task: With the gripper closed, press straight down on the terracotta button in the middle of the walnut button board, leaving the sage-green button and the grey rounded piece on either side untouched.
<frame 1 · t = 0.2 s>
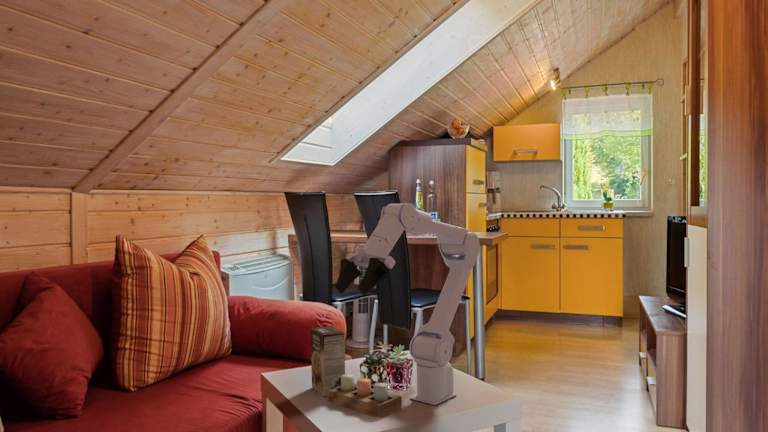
hand: (349, 291, 126), 31 cm above the table, tool tilted 45°, fingers open, 7 cm apart
coffee box: (328, 391, 155), on the table
button terracotta: (364, 388, 144), point 4 cm above the table, slide at 0.0 cm
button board: (364, 404, 144), on the table
button sage: (347, 384, 147), point 4 cm above the table, slide at 0.0 cm
grey rounded piece: (381, 393, 140), point 4 cm above the table, slide at 0.0 cm
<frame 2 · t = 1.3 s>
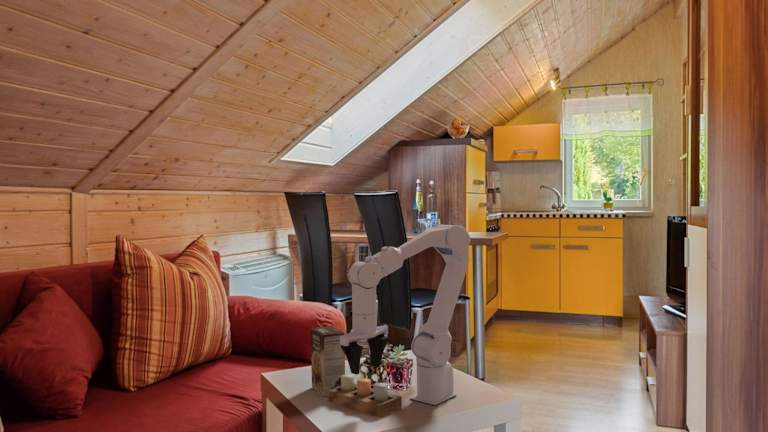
hand: (365, 370, 139), 10 cm above the table, tool pointing down, fingers open, 6 cm apart
nothing on the table moved.
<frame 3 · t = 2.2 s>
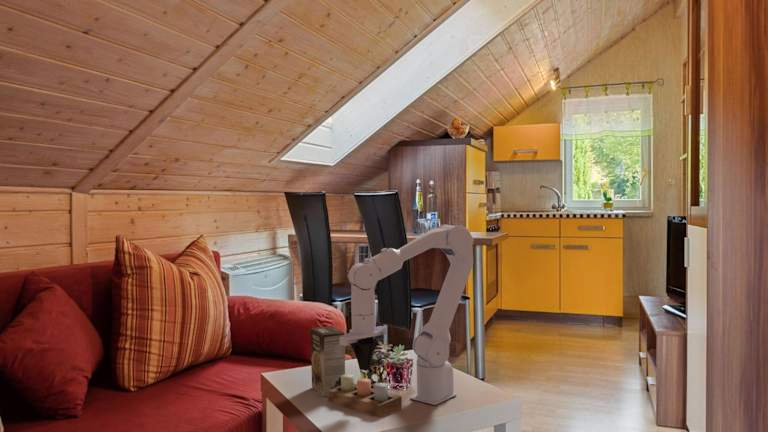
hand: (364, 369, 142), 9 cm above the table, tool pointing down, fingers closed
nothing on the table moved.
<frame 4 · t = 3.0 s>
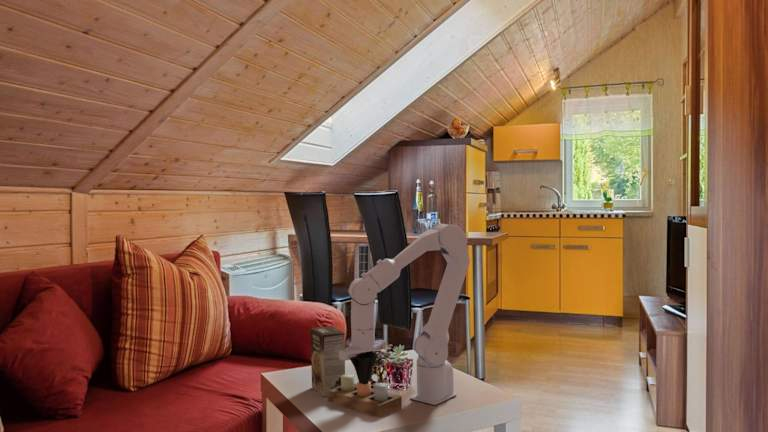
hand: (363, 383, 144), 5 cm above the table, tool pointing down, fingers closed, pressing on button terracotta
button terracotta: (364, 391, 144), point 3 cm above the table, slide at 0.6 cm, touching gripper
everything else where it was.
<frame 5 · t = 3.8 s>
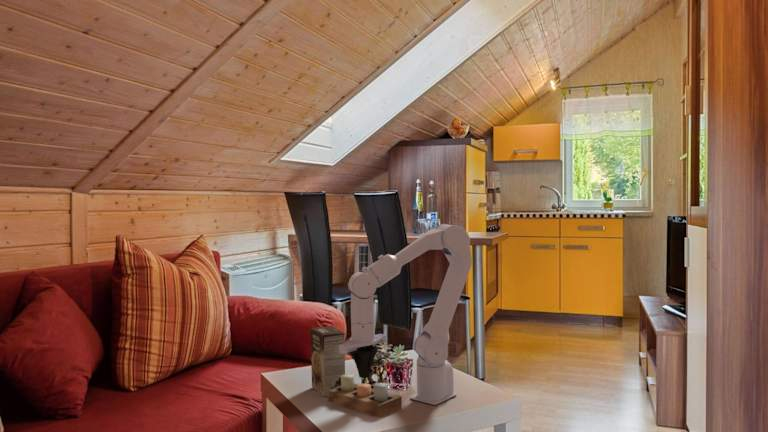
hand: (364, 377, 144), 7 cm above the table, tool pointing down, fingers closed
button terracotta: (364, 393, 144), point 3 cm above the table, slide at 1.3 cm
everything else where it was.
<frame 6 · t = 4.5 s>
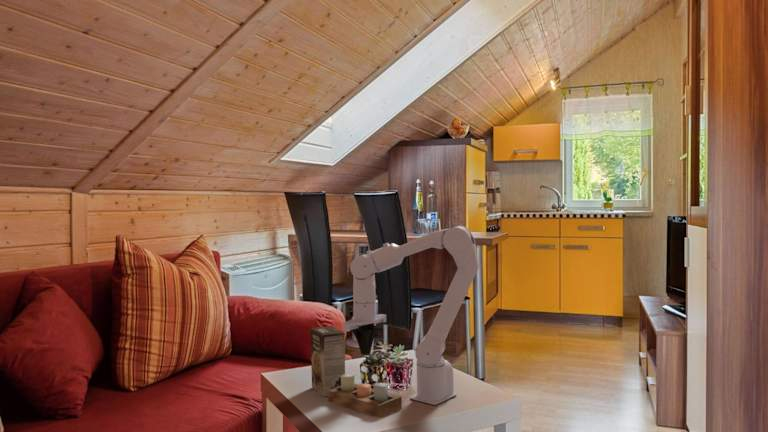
hand: (365, 354, 151), 10 cm above the table, tool pointing down, fingers closed
nothing on the table moved.
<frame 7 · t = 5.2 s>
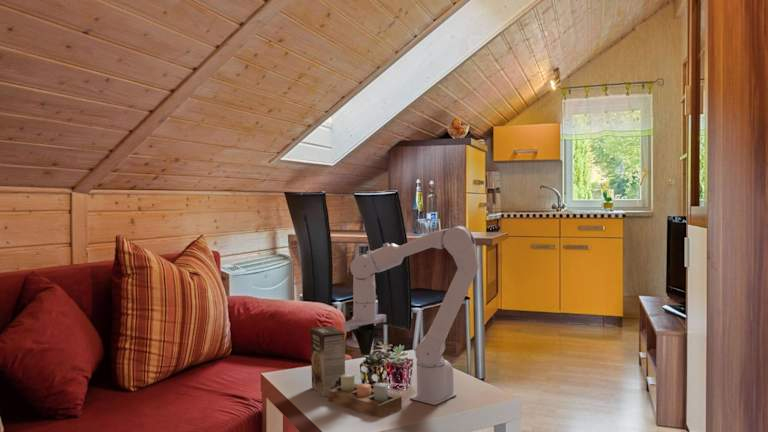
hand: (365, 354, 151), 10 cm above the table, tool pointing down, fingers closed
nothing on the table moved.
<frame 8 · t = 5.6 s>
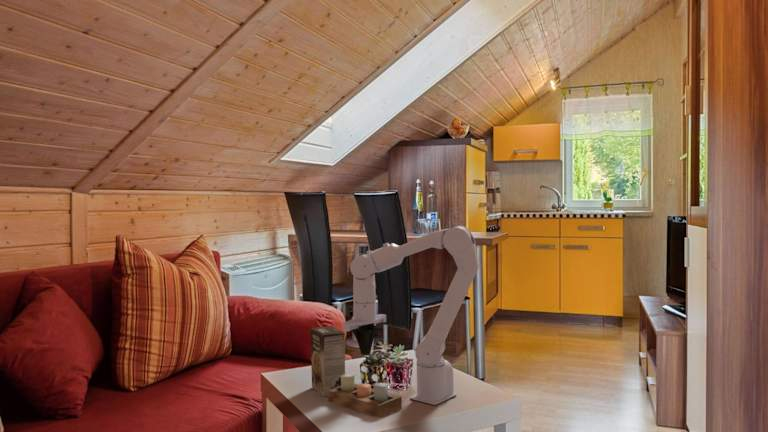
hand: (365, 354, 151), 10 cm above the table, tool pointing down, fingers closed
nothing on the table moved.
at the end: button terracotta slide at 1.3 cm; button sage slide at 0.0 cm; grey rounded piece slide at 0.0 cm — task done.
